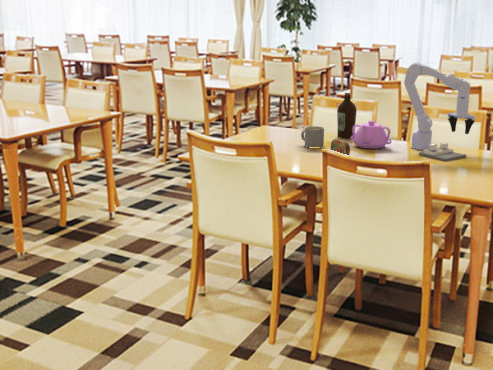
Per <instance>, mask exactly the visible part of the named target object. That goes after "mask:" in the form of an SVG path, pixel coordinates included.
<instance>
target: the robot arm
mask: <svg viewBox="0 0 493 370" xmlns="http://www.w3.org/2000/svg"><path fill="white" fill-rule="evenodd" d="M420 75H421V76H427V75H429V76H431V77H433V78H435V79H437V80H440V81H442V83H443V85H445V86H447V87H449V88H451V89H452V90H457V97H456V106H455V107H456V108H455V112H447V120H448V122H449V124H450V129H451V132H452V133H455V132H456V130H457V122H458V119H463V120H464V123H465V126H464V127H465V130H464V134H465V135H468V134H469V133H470V131H471V128H472V126H473V125H474V123H475V122H476V120H477V115H472V114H469V105H470V91H471V83H470V82H469V81H467V80H464V78H459V77H457V76H455V74H454V73H452V74H451V73H448V74H445V73H443V72H440V71H439V70H437V69H434V68H433V67H431V66H428V65H426V64H423V63H420V62H414V63H412V64H410V65H409V66H408V68H407V69H406V72H405V77H404V81H403V84H404V87H405V89H406V93H407V95H408V97H409V100H410V102H411V105H412V108H413V111H414V112H415V115H416V120H417V128H418V129H417V130H414V131H413V133H412V135H411V146H410V148H412V149H415V150H420V151H423V150H427V149H429V144H432V140H433V139H432V138H433V137H432V136H433V130H432V129H431V128H432V126H433V120H432V119H431V118H430V117H429V116H428V113H427V112H426V110H425V106H424V105H423V101H422V99H421V96H420V93H419V92H418V91H419V90H418V89H417V87H416V83H415V82H416V80H417V79H418V77H419V76H420Z"/></svg>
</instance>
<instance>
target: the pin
mask: <svg viewBox="0 0 493 370" xmlns="http://www.w3.org/2000/svg"><path fill="white" fill-rule="evenodd" d="M437 148H438V144H436V143H431V144H429V151H431V152H437Z"/></svg>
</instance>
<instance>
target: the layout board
mask: <svg viewBox="0 0 493 370" xmlns="http://www.w3.org/2000/svg"><path fill="white" fill-rule="evenodd" d="M418 156H421V157H425V158H430V159H433V158H434V160H437V159H439V161H442V160H443V161H442V162H449V161H454V160H459V159H463V158H466V157H467V154H464V153H459V152H455V151H454V148H451V147H449V143H448V142H440V145H439V147H437V152H431V151H429V149H427V150H422V152H418ZM448 160H449V161H448Z"/></svg>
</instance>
